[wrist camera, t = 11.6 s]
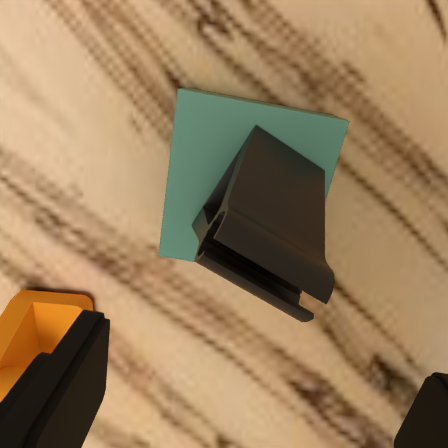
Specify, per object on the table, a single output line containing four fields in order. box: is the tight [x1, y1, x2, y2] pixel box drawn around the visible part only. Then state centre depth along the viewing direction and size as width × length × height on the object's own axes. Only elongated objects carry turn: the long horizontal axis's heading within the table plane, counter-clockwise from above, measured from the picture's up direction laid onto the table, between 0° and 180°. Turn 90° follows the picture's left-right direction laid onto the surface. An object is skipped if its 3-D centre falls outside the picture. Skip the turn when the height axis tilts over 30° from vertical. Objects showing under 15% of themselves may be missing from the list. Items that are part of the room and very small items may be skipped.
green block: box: [158, 88, 349, 262], centre depth 29 cm, size 12×13×5 cm
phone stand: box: [191, 125, 335, 322], centre depth 21 cm, size 9×6×12 cm, turn 147°
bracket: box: [0, 290, 93, 402], centre depth 33 cm, size 11×7×12 cm, turn 176°
